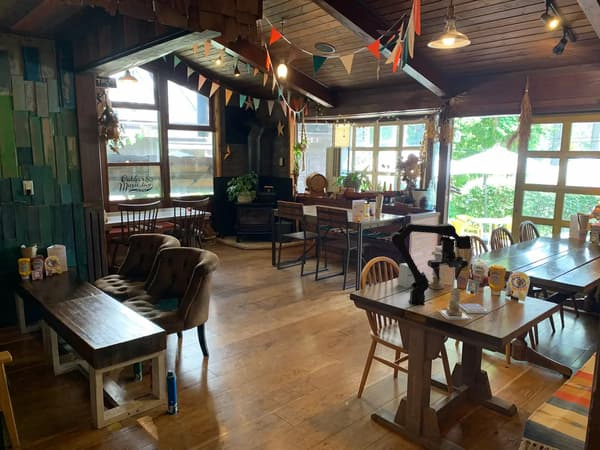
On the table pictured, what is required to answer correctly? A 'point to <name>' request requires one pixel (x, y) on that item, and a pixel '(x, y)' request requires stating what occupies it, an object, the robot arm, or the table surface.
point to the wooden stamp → (454, 303)
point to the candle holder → (435, 283)
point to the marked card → (445, 314)
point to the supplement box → (405, 276)
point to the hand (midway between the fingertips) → (447, 279)
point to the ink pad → (472, 308)
